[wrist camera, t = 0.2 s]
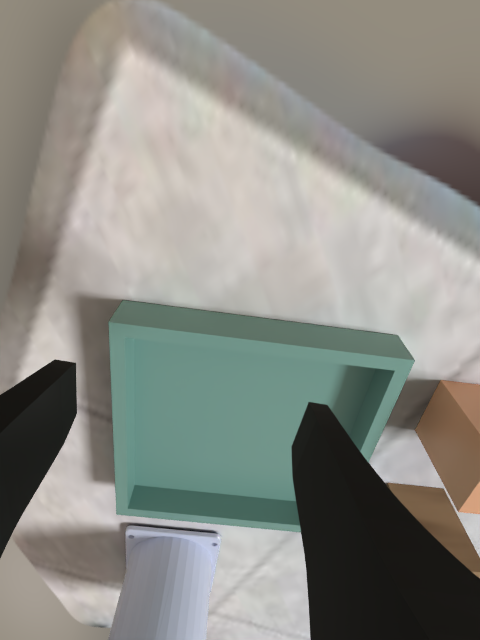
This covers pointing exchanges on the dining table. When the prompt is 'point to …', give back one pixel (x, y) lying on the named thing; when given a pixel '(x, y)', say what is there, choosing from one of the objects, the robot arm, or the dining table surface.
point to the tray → (234, 408)
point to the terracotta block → (455, 441)
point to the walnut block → (439, 520)
